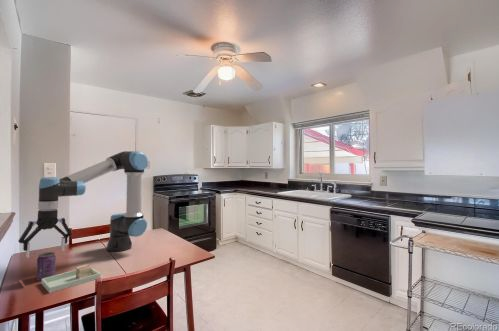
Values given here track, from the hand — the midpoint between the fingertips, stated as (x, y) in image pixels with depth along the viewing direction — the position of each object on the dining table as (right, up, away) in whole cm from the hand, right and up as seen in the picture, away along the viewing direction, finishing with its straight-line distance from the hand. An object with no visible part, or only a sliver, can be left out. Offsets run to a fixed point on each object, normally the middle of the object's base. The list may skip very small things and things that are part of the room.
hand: (45, 253), depth 123 cm
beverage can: (0, -13, 0) cm, 13 cm away
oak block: (+17, -12, +2) cm, 21 cm away
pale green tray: (+14, -13, -2) cm, 19 cm away
